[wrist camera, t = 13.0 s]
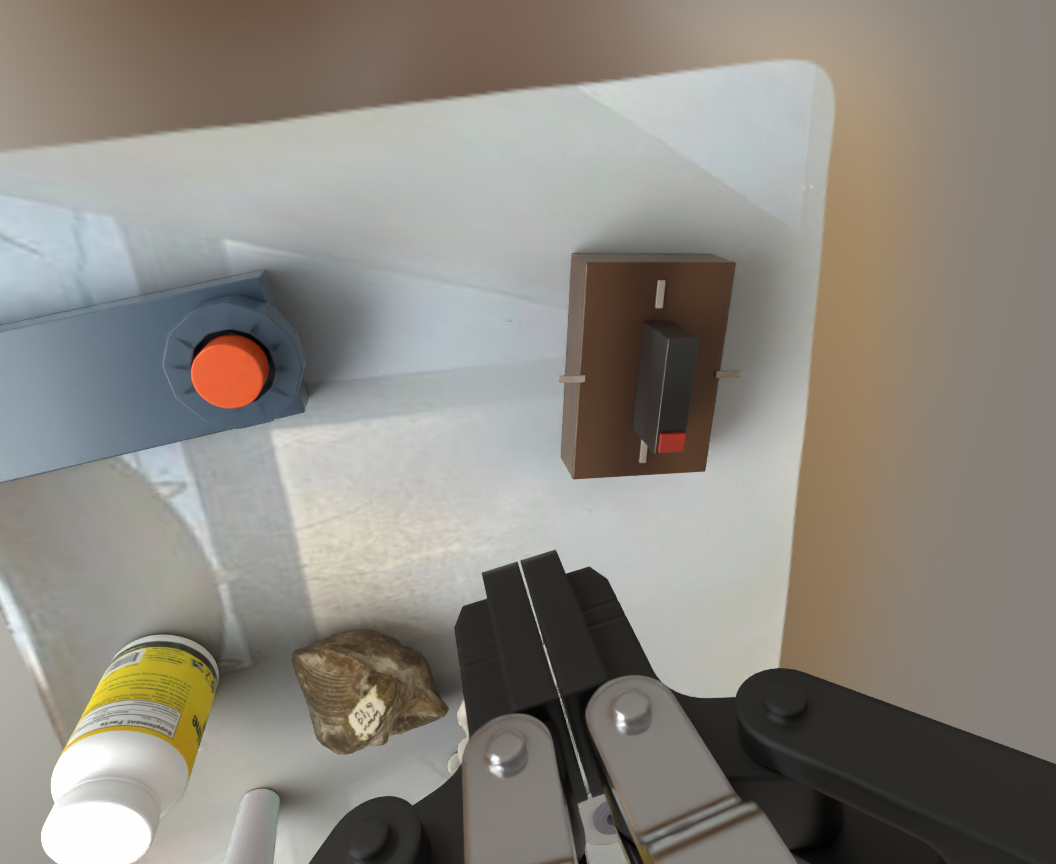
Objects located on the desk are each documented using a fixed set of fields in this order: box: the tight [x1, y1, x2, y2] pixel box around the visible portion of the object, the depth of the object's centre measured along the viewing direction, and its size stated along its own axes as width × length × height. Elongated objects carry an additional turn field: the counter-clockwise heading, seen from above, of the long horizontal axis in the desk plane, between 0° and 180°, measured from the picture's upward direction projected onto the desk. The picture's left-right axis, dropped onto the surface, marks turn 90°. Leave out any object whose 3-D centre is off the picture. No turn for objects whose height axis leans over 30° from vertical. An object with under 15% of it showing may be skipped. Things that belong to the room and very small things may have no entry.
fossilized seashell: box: [292, 630, 449, 754], centre depth 42 cm, size 8×7×10 cm
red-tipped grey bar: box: [632, 321, 699, 454], centre depth 34 cm, size 6×2×4 cm, turn 178°
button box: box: [0, 270, 309, 483], centre depth 32 cm, size 18×7×4 cm, turn 100°
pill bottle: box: [41, 635, 219, 864], centre depth 36 cm, size 6×6×11 cm
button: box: [191, 335, 269, 408], centre depth 31 cm, size 3×3×2 cm
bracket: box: [578, 793, 619, 845], centre depth 52 cm, size 6×10×4 cm, turn 114°
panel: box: [559, 253, 740, 479], centre depth 37 cm, size 10×12×3 cm
